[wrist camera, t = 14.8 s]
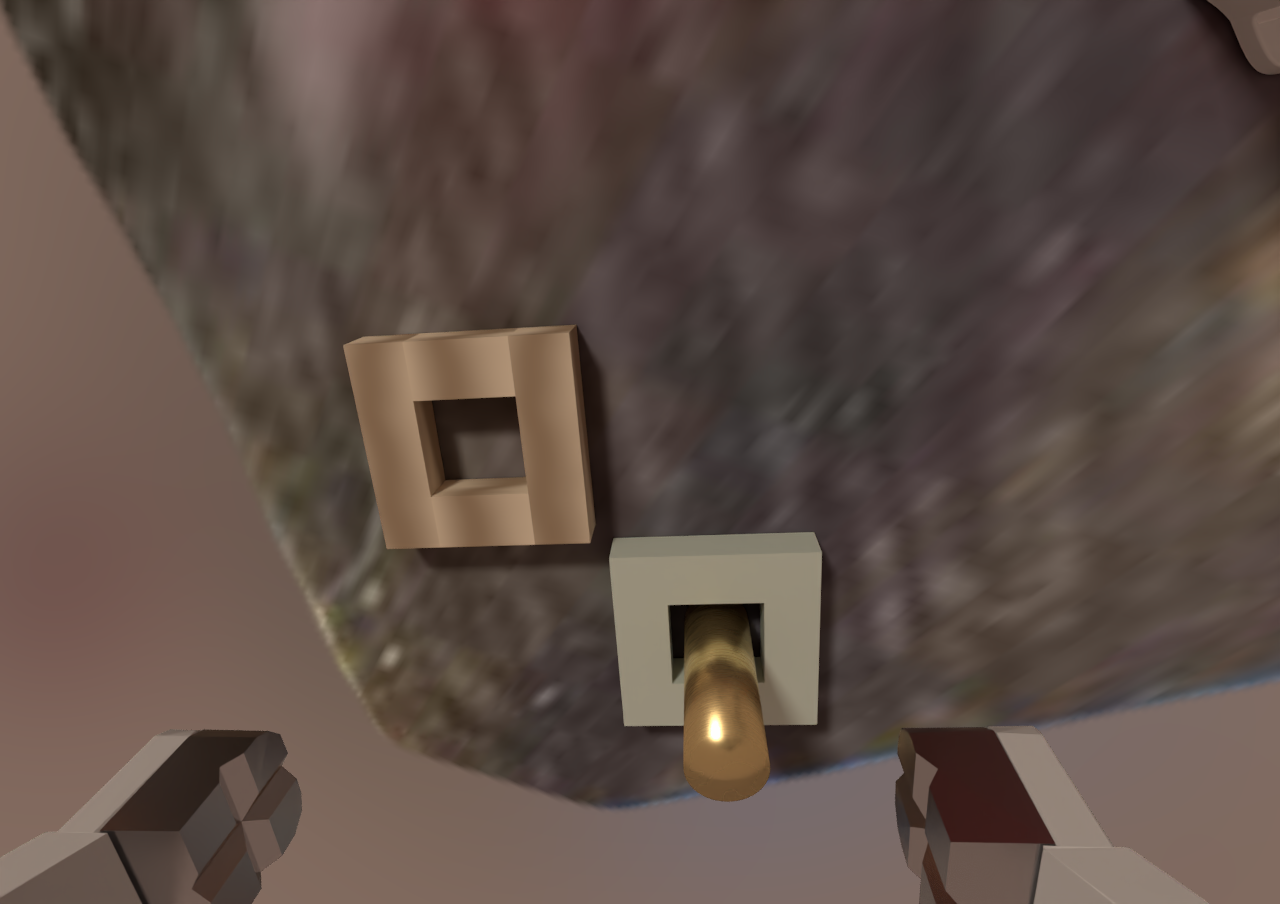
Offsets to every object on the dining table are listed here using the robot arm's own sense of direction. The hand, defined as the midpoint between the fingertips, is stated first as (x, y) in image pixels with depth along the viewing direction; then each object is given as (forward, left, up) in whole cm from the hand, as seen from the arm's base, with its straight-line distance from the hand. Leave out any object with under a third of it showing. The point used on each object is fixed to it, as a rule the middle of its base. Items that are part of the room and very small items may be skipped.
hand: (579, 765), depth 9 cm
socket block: (-2, +18, -30) cm, 35 cm away
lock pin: (-3, +18, -30) cm, 35 cm away
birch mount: (+11, +5, -30) cm, 32 cm away
